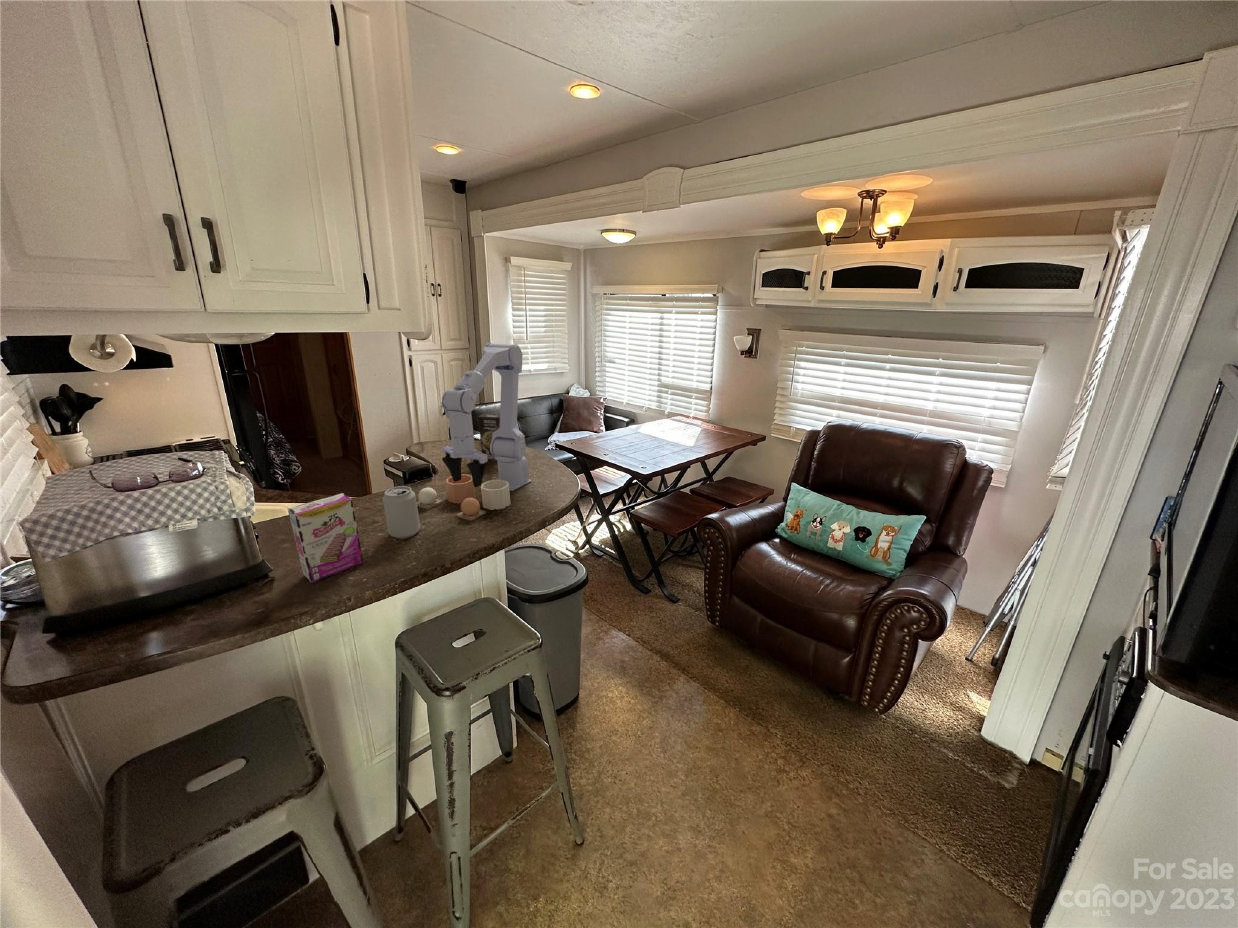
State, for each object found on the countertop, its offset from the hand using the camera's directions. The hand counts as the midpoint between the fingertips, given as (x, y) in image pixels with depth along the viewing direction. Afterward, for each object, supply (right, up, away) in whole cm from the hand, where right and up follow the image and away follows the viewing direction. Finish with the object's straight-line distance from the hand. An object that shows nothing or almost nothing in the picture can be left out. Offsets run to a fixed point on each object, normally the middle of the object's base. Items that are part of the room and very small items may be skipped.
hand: (467, 483), depth 129 cm
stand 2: (0, -9, +3) cm, 10 cm away
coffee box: (-5, +8, +49) cm, 50 cm away
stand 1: (-14, -6, +10) cm, 19 cm away
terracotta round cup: (-6, -5, +14) cm, 16 cm away
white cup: (+5, -6, +10) cm, 13 cm away
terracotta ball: (0, -7, +2) cm, 7 cm away
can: (-14, -13, -6) cm, 20 cm away
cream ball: (-14, -4, +9) cm, 17 cm away
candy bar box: (-22, -19, -22) cm, 37 cm away
